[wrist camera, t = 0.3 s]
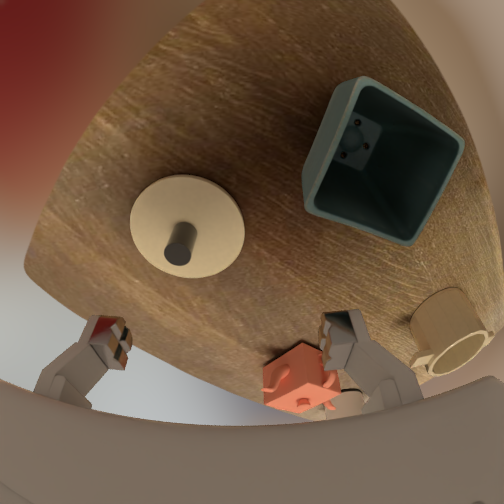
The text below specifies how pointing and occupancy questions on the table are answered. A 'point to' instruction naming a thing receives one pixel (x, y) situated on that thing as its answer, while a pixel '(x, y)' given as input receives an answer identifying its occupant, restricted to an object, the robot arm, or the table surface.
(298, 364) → the teapot
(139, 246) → the lid
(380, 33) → the table surface
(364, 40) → the table surface
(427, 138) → the flower pot
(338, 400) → the mug
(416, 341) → the pot
